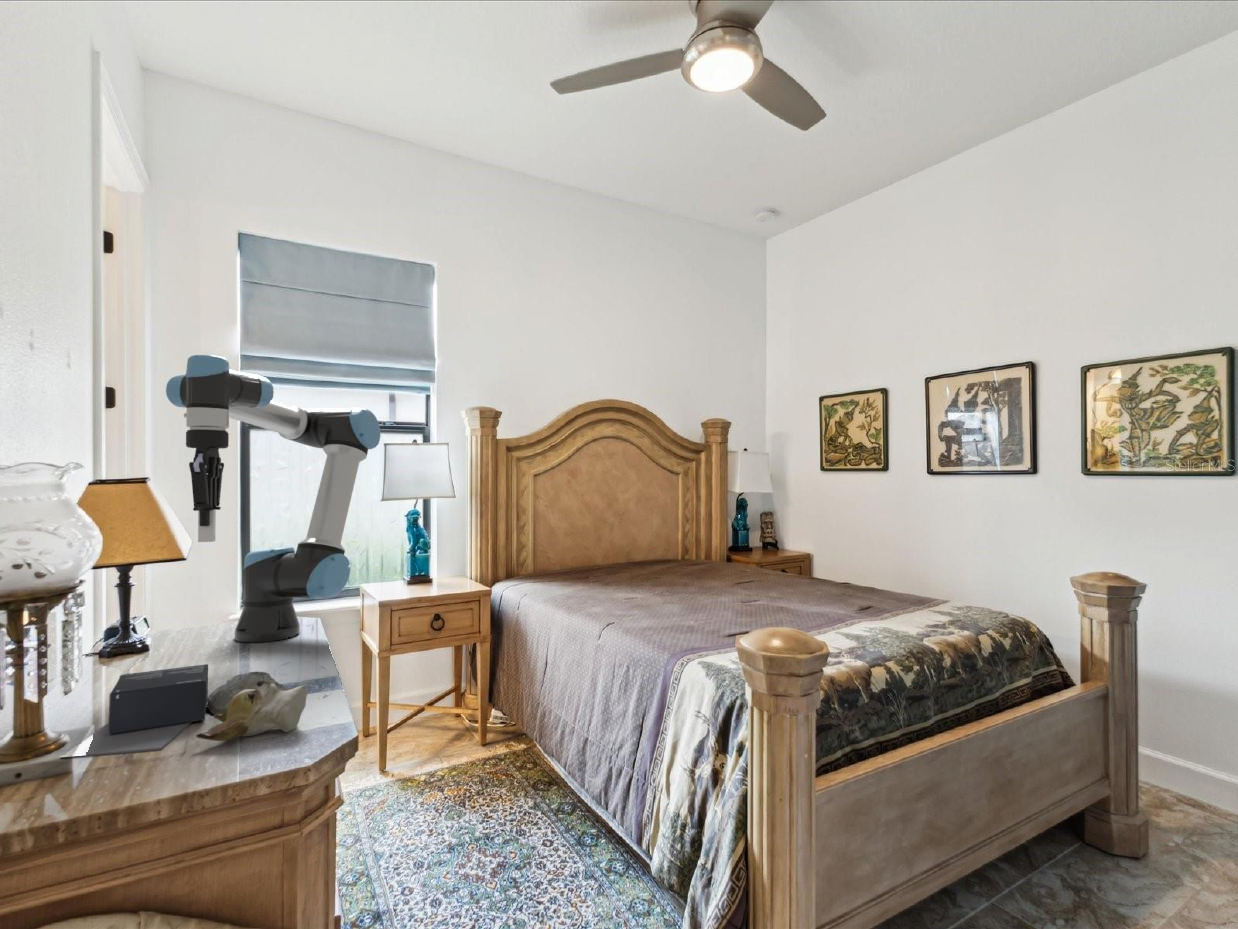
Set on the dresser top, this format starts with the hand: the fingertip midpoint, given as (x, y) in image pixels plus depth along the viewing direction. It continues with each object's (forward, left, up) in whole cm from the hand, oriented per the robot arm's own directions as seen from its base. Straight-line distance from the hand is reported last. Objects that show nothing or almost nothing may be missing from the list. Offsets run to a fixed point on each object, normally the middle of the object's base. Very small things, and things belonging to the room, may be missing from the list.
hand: (206, 541), depth 132 cm
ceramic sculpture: (+35, +20, -29) cm, 49 cm away
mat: (+30, +1, -28) cm, 41 cm away
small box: (+18, 0, -25) cm, 31 cm away
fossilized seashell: (+20, +14, -29) cm, 38 cm away
